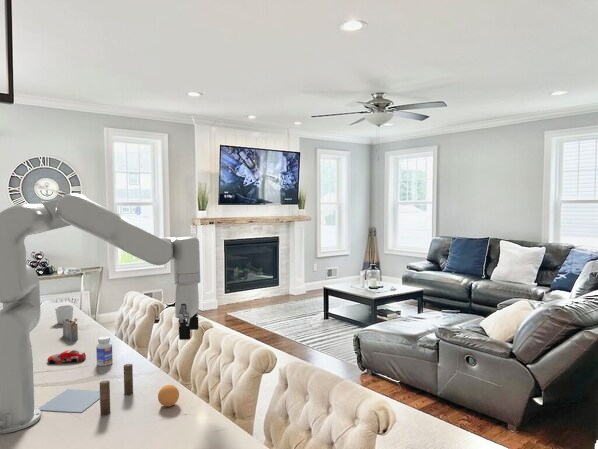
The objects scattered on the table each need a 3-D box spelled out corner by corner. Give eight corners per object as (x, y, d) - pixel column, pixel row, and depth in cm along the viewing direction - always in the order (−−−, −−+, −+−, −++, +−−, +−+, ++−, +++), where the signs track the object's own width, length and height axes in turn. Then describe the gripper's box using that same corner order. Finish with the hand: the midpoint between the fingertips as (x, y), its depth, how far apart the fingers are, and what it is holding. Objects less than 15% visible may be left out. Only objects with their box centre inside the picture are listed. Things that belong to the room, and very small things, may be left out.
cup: (59, 320, 224) (58, 304, 223) (76, 318, 226) (75, 303, 226) (54, 325, 214) (53, 309, 213) (72, 324, 216) (71, 308, 216)
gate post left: (107, 415, 122) (106, 384, 122) (98, 415, 122) (97, 384, 122) (112, 411, 125) (111, 380, 124) (103, 411, 125) (102, 380, 124)
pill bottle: (106, 366, 159) (105, 340, 159) (93, 365, 160) (92, 339, 160) (115, 361, 164) (115, 336, 164) (103, 360, 165) (102, 335, 165)
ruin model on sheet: (79, 340, 191) (78, 318, 191) (71, 342, 189) (70, 320, 189) (70, 335, 199) (69, 314, 199) (63, 336, 197) (62, 315, 197)
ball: (174, 410, 125) (174, 390, 124) (154, 409, 125) (154, 389, 125) (182, 401, 131) (182, 381, 130) (163, 400, 131) (163, 381, 131)
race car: (44, 365, 162) (44, 354, 161) (51, 360, 167) (50, 350, 167) (82, 363, 163) (81, 353, 163) (87, 358, 169) (87, 348, 168)
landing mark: (81, 412, 124) (81, 412, 124) (36, 410, 125) (36, 409, 125) (108, 391, 138) (108, 391, 138) (67, 389, 139) (67, 389, 139)
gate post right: (130, 395, 135) (129, 366, 134) (122, 395, 135) (121, 366, 135) (134, 391, 138) (134, 363, 137) (126, 391, 138) (126, 363, 137)
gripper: (182, 273, 139) (184, 326, 140) (165, 283, 121) (168, 343, 122) (206, 273, 139) (207, 325, 140) (192, 283, 121) (194, 343, 122)
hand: (189, 334), depth 131 cm, fingers open, 9 cm apart
